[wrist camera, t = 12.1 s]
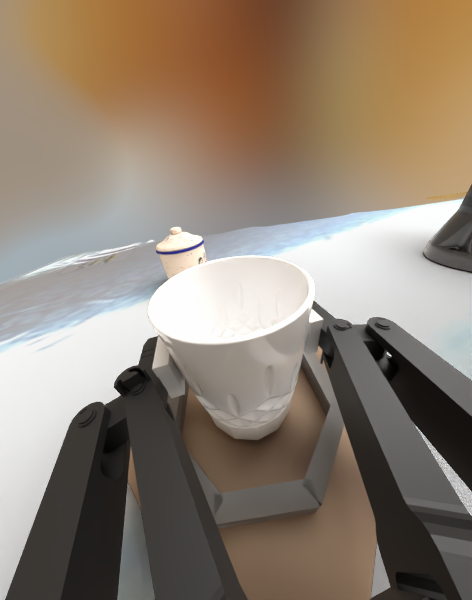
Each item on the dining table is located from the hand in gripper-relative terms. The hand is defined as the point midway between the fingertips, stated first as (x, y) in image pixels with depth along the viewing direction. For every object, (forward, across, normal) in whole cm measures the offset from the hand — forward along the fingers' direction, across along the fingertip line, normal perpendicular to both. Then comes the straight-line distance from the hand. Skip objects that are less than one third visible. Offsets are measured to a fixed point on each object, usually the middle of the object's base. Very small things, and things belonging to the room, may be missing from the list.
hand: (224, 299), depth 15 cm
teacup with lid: (+24, -4, -9) cm, 26 cm away
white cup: (-5, 0, -6) cm, 8 cm away
